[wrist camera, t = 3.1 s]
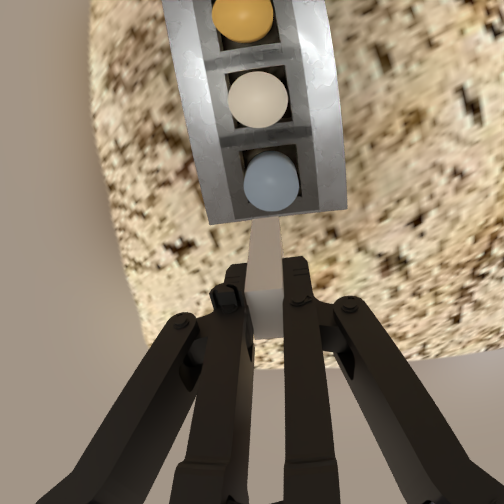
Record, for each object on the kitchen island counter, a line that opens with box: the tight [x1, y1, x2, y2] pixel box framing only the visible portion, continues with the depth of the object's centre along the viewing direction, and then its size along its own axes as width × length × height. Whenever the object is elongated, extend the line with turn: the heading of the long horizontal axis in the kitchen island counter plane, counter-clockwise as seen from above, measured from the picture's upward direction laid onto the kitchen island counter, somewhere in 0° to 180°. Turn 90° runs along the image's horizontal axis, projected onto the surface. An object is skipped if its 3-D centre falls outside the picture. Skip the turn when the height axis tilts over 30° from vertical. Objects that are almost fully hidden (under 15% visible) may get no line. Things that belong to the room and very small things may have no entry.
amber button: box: [212, 0, 273, 43], centre depth 21 cm, size 4×4×7 cm
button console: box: [162, 0, 347, 225], centre depth 27 cm, size 24×14×6 cm, turn 9°
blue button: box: [244, 151, 299, 211], centre depth 28 cm, size 4×4×7 cm
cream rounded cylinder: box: [228, 71, 288, 128], centre depth 25 cm, size 4×4×7 cm
